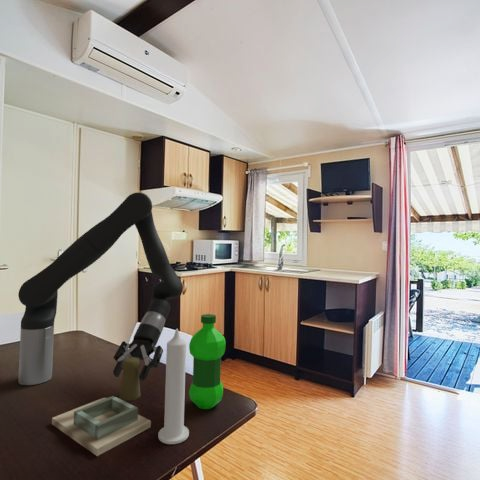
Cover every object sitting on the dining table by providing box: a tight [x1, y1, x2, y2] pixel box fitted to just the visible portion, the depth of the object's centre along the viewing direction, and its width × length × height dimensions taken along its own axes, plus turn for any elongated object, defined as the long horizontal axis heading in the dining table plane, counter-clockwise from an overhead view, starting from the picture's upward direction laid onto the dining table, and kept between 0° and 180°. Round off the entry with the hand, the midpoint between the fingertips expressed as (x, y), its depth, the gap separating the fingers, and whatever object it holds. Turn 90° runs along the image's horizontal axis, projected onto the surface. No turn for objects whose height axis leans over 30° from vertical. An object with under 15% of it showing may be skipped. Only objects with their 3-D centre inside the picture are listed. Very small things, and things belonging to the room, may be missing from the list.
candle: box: [157, 328, 190, 445], centre depth 76 cm, size 7×7×25 cm
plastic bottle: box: [188, 313, 226, 410], centre depth 91 cm, size 10×10×25 cm
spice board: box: [51, 395, 152, 457], centre depth 79 cm, size 20×14×4 cm
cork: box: [118, 357, 142, 402], centre depth 95 cm, size 6×6×11 cm
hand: (128, 377), depth 94 cm, fingers open, 8 cm apart
